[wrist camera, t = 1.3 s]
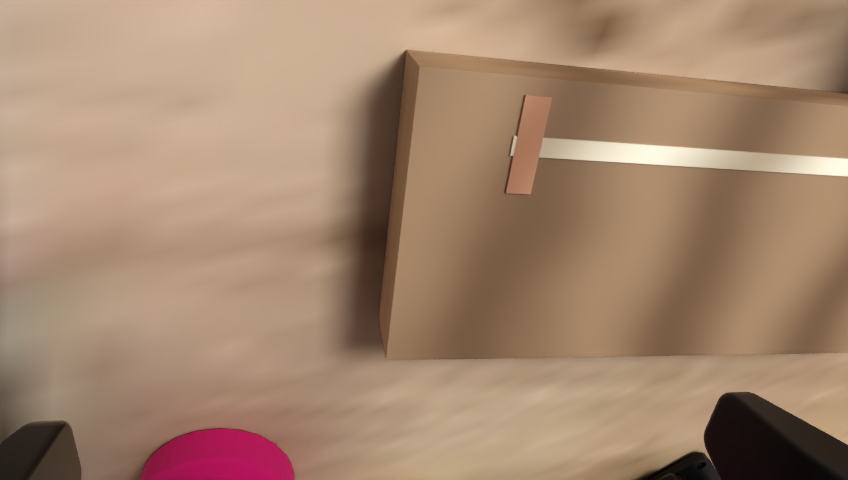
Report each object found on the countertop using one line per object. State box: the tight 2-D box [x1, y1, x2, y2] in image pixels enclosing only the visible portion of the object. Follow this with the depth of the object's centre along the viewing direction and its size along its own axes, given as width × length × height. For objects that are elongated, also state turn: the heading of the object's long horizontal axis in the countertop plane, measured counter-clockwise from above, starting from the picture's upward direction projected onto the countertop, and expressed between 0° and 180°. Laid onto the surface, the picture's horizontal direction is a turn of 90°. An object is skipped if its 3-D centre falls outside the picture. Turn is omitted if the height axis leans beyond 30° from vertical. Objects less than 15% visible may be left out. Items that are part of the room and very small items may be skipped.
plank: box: [379, 50, 848, 360], centre depth 21 cm, size 23×10×3 cm, turn 83°
